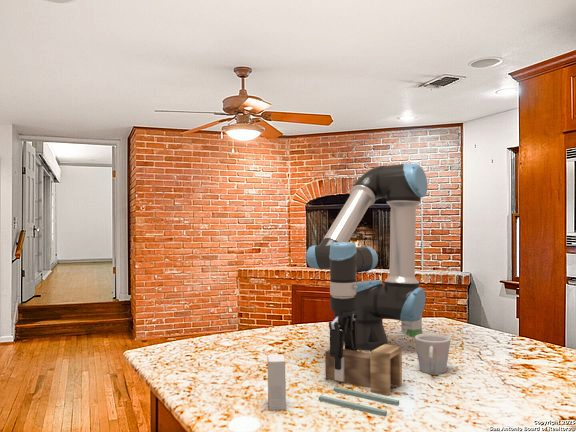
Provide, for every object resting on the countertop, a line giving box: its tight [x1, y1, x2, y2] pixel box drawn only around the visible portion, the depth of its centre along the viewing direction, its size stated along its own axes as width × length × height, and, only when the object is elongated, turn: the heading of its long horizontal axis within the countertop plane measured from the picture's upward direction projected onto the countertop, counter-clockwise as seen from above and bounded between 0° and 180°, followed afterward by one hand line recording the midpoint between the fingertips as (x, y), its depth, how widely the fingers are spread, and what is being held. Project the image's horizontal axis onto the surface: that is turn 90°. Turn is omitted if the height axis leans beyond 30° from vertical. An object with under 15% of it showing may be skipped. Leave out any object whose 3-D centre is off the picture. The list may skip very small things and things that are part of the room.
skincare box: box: [266, 353, 287, 411], centre depth 122 cm, size 6×4×12 cm
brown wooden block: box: [324, 348, 371, 389], centre depth 139 cm, size 16×5×8 cm, turn 57°
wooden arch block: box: [369, 343, 403, 396], centre depth 133 cm, size 5×10×11 cm, turn 146°
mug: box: [414, 332, 451, 375], centre depth 147 cm, size 10×15×10 cm
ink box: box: [400, 313, 423, 338], centre depth 194 cm, size 9×5×12 cm, turn 14°
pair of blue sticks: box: [318, 386, 400, 417], centre depth 124 cm, size 18×9×1 cm, turn 56°
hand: (344, 377), depth 141 cm, fingers closed on brown wooden block, 5 cm apart
